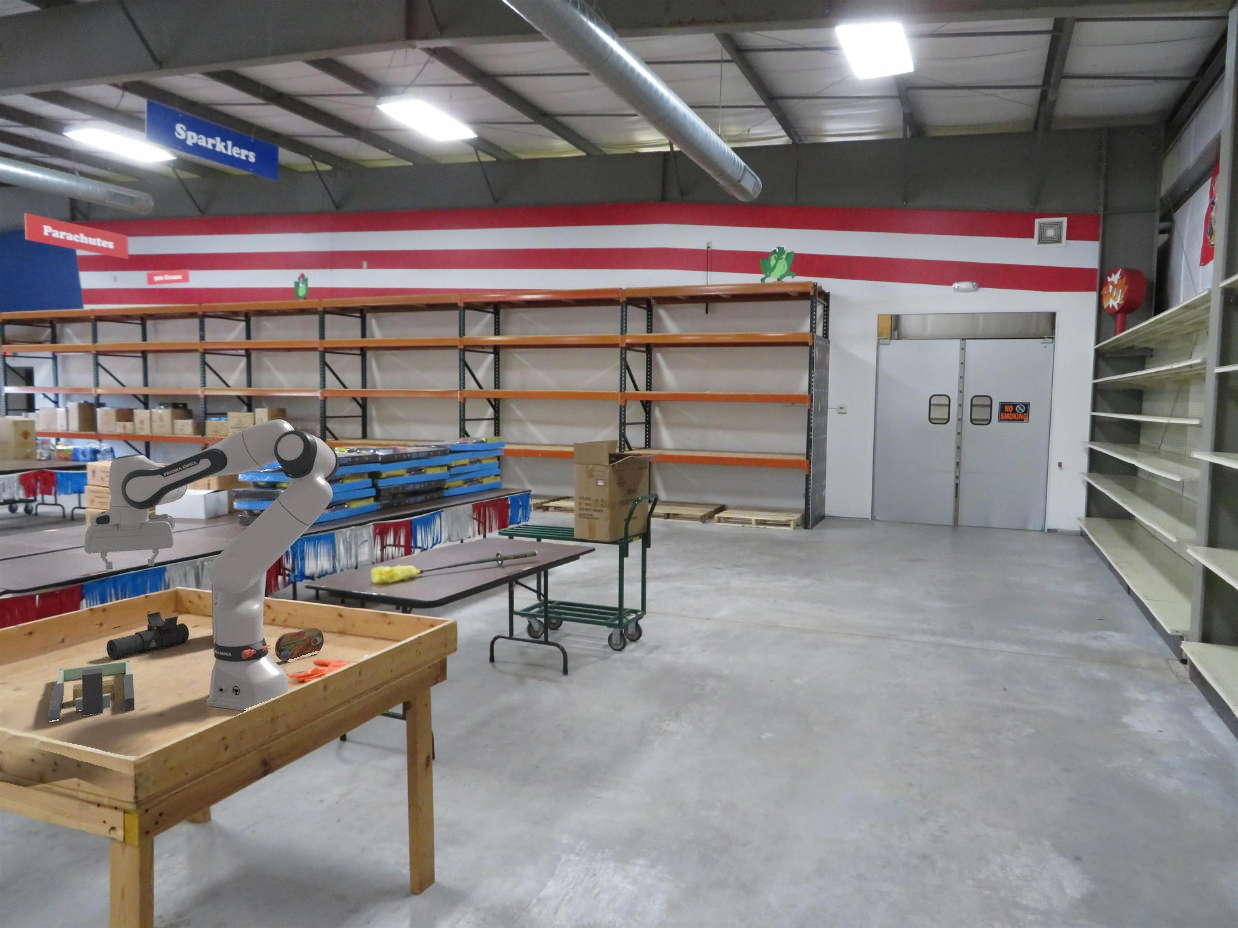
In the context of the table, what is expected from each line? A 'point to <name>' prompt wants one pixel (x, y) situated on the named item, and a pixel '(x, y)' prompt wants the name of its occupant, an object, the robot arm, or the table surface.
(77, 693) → the wooden block
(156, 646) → the laser sight
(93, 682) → the dark grey block
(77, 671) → the open frame
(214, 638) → the cracker box
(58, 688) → the slot jig
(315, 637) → the tin
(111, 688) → the brown wooden cube
